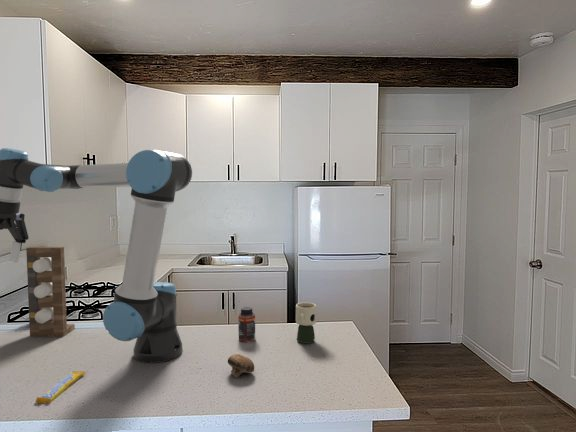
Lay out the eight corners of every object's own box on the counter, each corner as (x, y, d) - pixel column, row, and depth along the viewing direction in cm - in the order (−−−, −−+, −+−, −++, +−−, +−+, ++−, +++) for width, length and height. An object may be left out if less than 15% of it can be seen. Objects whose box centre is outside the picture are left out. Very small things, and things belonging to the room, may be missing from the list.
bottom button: (47, 323, 147) (47, 311, 147) (34, 323, 147) (34, 311, 147) (56, 318, 153) (56, 306, 153) (44, 318, 153) (44, 306, 153)
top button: (45, 272, 146) (45, 260, 146) (32, 272, 146) (32, 260, 146) (55, 269, 152) (54, 257, 152) (42, 269, 152) (42, 257, 152)
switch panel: (62, 337, 150) (59, 248, 148) (28, 337, 150) (25, 248, 148) (74, 329, 159) (71, 244, 156) (42, 328, 159) (39, 244, 156)
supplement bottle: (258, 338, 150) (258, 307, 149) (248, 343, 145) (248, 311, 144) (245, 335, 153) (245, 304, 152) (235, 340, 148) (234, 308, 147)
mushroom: (227, 372, 115) (236, 350, 118) (219, 372, 122) (227, 351, 125) (253, 383, 117) (260, 360, 120) (243, 382, 124) (250, 361, 127)
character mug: (311, 348, 141) (312, 310, 140) (291, 346, 143) (291, 308, 142) (319, 337, 151) (319, 301, 150) (300, 335, 153) (300, 300, 152)
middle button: (46, 298, 147) (46, 285, 146) (33, 298, 147) (33, 285, 146) (56, 293, 153) (55, 281, 152) (43, 293, 153) (43, 281, 152)
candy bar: (49, 406, 104) (49, 399, 104) (33, 406, 105) (32, 398, 104) (86, 376, 121) (86, 369, 121) (72, 375, 121) (72, 369, 121)
